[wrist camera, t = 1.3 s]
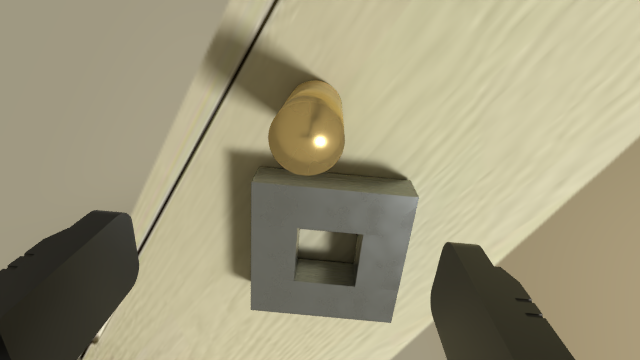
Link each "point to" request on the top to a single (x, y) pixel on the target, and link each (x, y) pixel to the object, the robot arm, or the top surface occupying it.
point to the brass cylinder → (308, 129)
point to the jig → (336, 216)
